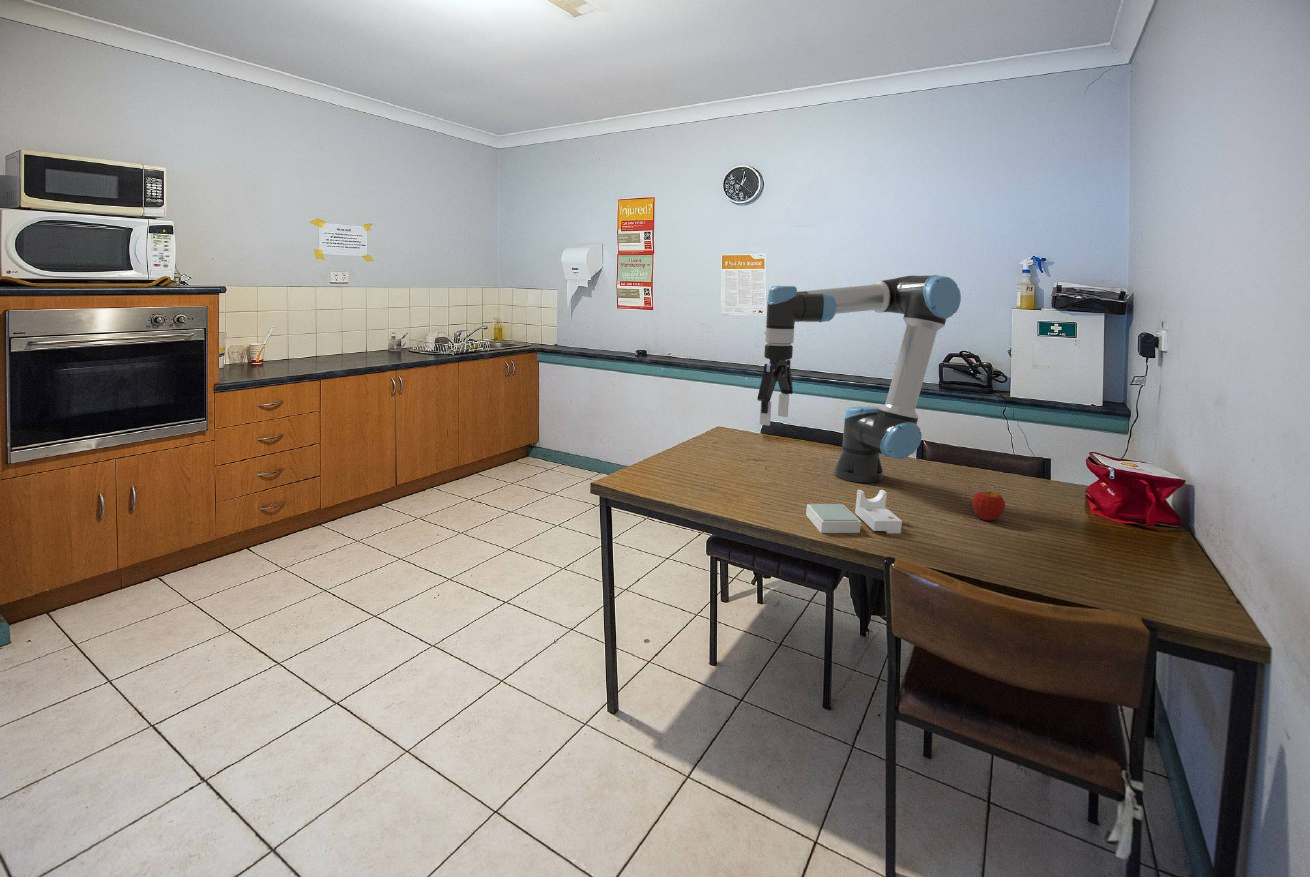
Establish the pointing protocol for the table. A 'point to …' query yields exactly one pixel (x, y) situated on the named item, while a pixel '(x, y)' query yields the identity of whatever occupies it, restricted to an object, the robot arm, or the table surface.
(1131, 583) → the table surface
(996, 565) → the table surface
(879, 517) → the bracket
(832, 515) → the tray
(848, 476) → the robot arm
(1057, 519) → the table surface
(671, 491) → the table surface
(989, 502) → the apple
